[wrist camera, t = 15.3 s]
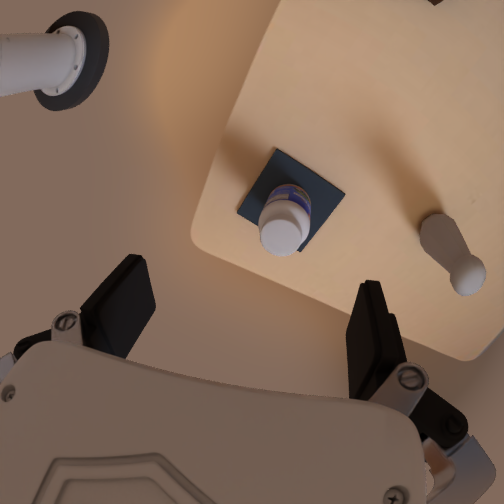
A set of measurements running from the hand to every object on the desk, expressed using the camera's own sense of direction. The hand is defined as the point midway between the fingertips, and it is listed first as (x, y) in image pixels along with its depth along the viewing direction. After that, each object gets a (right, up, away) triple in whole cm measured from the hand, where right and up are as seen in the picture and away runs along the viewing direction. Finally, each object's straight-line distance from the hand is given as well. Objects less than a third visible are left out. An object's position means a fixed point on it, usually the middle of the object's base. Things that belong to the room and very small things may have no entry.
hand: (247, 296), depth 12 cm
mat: (+5, +8, +24) cm, 26 cm away
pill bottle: (+5, +8, +24) cm, 25 cm away
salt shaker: (+25, +5, +21) cm, 33 cm away
